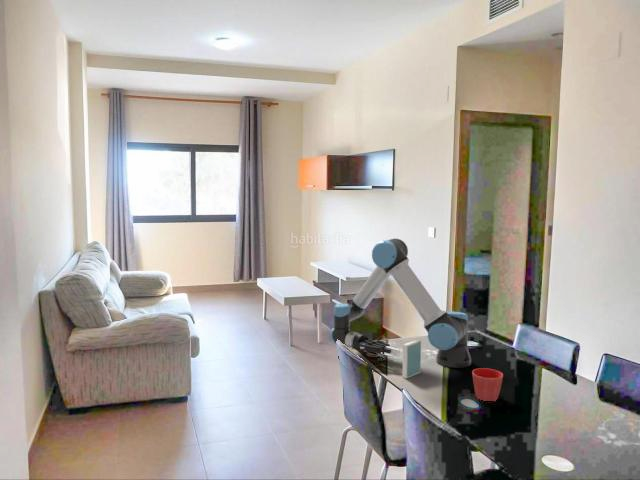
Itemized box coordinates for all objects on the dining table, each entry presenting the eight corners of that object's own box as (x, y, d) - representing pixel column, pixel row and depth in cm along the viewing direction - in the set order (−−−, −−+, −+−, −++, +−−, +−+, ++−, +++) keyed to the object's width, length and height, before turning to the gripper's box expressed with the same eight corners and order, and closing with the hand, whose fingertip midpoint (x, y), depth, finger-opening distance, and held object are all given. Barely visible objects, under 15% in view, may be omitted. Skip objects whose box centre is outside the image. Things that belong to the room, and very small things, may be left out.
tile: (416, 371, 218) (417, 339, 216) (421, 372, 216) (421, 340, 215) (402, 377, 211) (402, 344, 209) (406, 378, 209) (407, 345, 208)
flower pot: (504, 405, 183) (505, 378, 182) (472, 402, 185) (473, 376, 184) (500, 393, 193) (501, 369, 192) (470, 391, 195) (470, 367, 194)
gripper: (366, 346, 239) (407, 357, 223) (347, 352, 230) (388, 364, 214) (366, 330, 239) (407, 341, 222) (347, 336, 230) (388, 347, 213)
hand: (398, 352), depth 218 cm, fingers closed
